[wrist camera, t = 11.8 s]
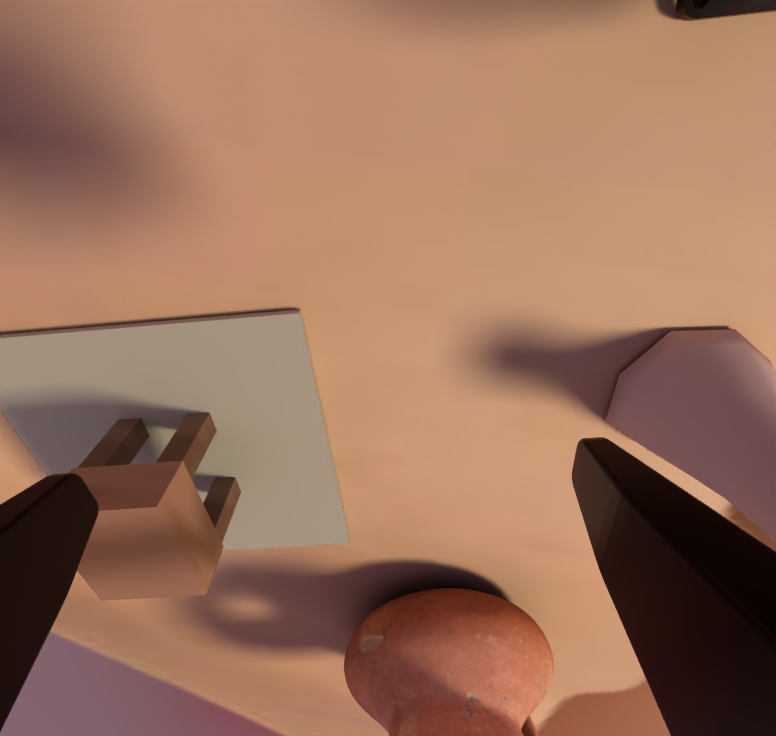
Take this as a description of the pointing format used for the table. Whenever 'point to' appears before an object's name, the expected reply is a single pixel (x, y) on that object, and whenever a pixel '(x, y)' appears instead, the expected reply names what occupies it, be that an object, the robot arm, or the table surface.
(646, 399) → the flask
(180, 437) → the walnut stool
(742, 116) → the table surface
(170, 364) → the sage mat
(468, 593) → the ceramic jug
